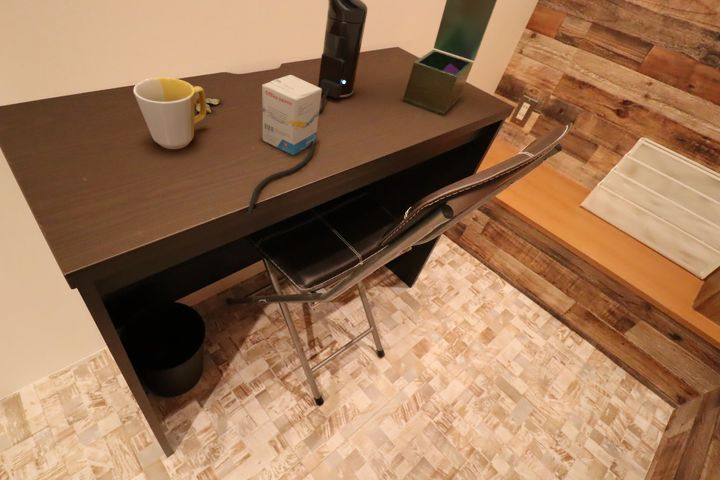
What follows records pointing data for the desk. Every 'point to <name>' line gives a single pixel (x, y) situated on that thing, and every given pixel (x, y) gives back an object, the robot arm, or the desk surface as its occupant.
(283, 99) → the ink box
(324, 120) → the desk surface
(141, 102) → the mug
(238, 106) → the desk surface
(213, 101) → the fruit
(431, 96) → the bin
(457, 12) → the lid
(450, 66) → the chocolate
